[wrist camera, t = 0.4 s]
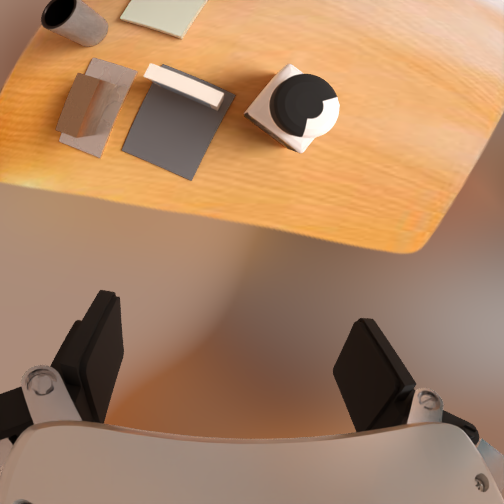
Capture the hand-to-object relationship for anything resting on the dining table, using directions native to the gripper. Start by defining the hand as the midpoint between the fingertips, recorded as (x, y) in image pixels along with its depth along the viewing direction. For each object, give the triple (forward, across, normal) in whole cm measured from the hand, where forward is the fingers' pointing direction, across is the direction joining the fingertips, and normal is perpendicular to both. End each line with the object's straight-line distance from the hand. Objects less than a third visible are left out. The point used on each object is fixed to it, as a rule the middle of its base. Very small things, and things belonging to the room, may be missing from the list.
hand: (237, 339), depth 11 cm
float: (+29, +18, -8) cm, 36 cm away
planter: (+29, +21, -19) cm, 41 cm away
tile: (+29, +6, -11) cm, 31 cm away
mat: (+29, +7, -7) cm, 31 cm away
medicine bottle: (+29, -5, -11) cm, 31 cm away
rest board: (+29, +11, -25) cm, 40 cm away
